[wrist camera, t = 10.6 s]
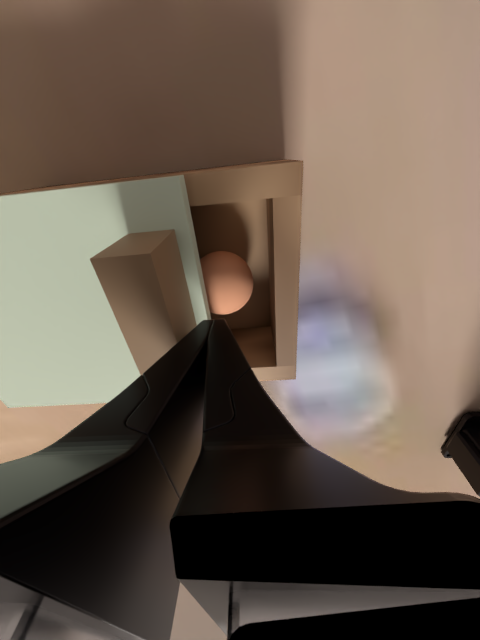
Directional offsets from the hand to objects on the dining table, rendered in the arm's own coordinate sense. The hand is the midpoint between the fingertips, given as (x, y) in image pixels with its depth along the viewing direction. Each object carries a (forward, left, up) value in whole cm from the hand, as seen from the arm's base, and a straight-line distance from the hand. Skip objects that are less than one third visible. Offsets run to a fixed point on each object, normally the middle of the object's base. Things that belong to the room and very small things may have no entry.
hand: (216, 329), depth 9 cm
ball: (0, 0, -4) cm, 4 cm away
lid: (+6, 0, -2) cm, 7 cm away
